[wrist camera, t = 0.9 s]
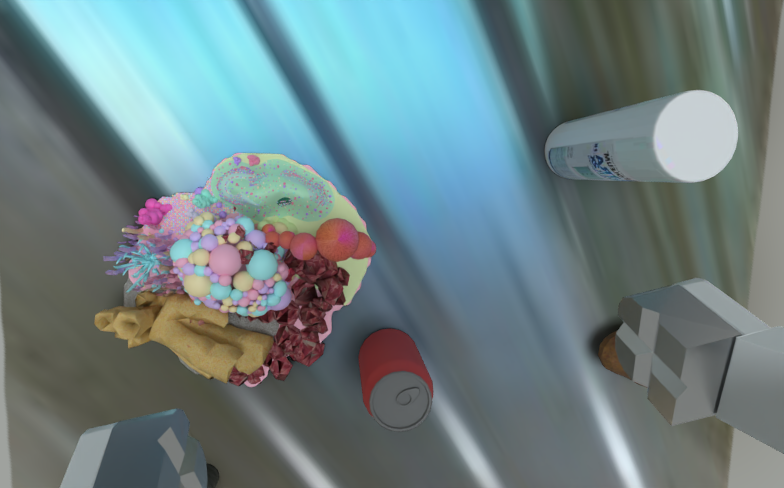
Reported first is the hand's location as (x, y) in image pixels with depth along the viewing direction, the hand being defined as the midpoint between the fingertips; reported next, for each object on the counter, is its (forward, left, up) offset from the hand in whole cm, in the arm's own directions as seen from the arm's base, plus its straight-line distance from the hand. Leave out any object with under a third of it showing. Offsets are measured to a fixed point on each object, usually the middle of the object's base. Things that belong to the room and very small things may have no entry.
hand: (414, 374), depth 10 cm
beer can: (-16, +5, -46) cm, 49 cm away
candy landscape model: (+1, +12, -47) cm, 48 cm away
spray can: (-8, -24, -46) cm, 52 cm away
